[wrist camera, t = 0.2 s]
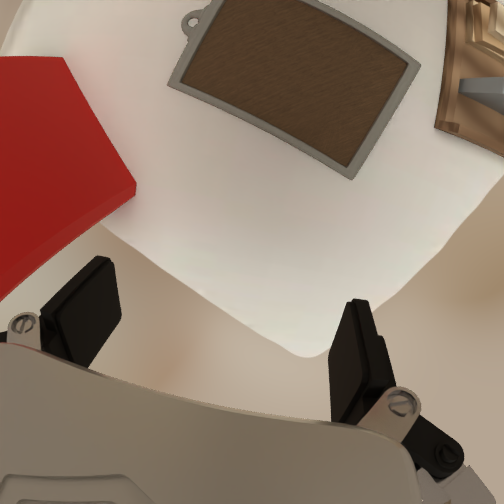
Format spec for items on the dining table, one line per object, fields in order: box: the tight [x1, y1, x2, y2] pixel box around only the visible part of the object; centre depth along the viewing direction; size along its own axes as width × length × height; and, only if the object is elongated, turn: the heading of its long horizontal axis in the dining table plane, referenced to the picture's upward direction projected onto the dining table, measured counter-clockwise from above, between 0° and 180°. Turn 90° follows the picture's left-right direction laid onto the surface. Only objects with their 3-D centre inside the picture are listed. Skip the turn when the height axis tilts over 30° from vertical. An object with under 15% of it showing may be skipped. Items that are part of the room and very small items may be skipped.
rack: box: [434, 0, 504, 157], centre depth 25 cm, size 23×14×7 cm, turn 172°
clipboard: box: [167, 0, 421, 180], centre depth 33 cm, size 19×2×30 cm
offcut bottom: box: [465, 0, 504, 64], centre depth 23 cm, size 7×9×2 cm
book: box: [0, 56, 136, 302], centre depth 26 cm, size 27×8×32 cm, turn 30°
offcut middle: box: [473, 2, 504, 56], centre depth 21 cm, size 6×8×2 cm
